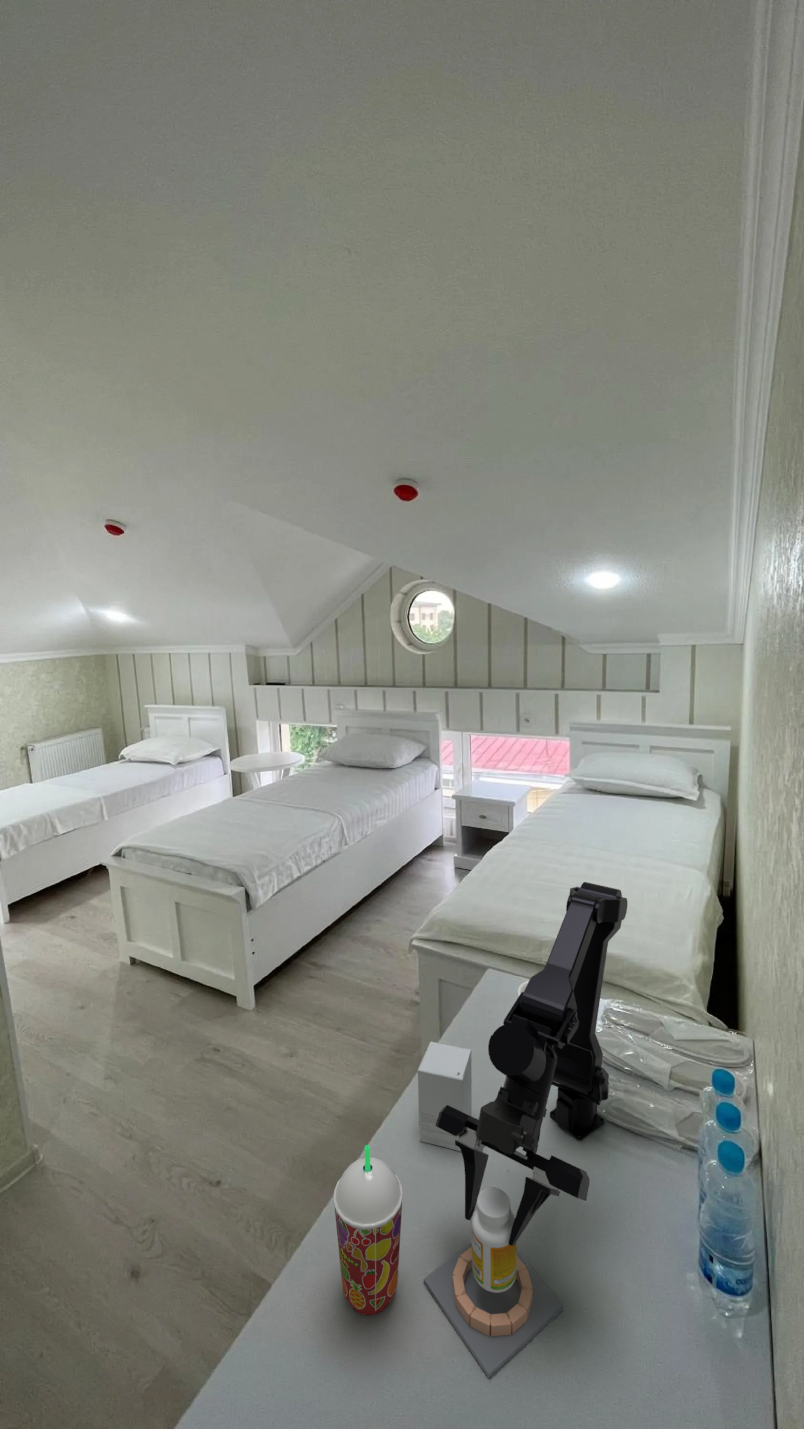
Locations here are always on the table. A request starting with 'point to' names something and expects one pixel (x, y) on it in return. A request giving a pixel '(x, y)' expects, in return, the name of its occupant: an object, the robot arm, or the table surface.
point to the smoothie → (368, 1233)
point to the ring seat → (492, 1309)
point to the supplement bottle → (493, 1241)
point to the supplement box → (443, 1090)
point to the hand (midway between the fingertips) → (488, 1232)
